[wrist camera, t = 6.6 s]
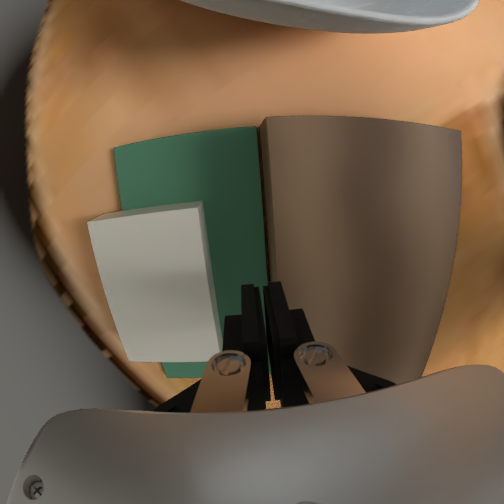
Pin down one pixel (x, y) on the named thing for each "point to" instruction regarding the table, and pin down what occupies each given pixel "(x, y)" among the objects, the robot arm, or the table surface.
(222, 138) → the mat
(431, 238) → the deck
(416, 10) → the serving bowl
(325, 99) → the table surface
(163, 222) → the light grey flat block
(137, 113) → the table surface
